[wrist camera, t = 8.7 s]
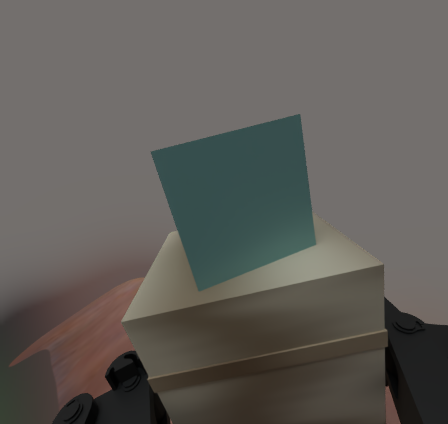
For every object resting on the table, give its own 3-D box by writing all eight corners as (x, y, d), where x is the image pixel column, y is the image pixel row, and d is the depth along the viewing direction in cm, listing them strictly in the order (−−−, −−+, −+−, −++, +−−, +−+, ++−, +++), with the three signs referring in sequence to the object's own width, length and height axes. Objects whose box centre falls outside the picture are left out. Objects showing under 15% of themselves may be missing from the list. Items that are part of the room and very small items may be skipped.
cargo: (261, 214, 11) (244, 131, 9) (316, 244, 7) (300, 113, 6) (184, 241, 10) (155, 154, 9) (198, 291, 6) (150, 152, 5)
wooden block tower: (325, 355, 15) (304, 197, 11) (408, 521, 8) (421, 271, 5) (216, 376, 16) (163, 231, 12) (215, 551, 9) (93, 342, 5)
